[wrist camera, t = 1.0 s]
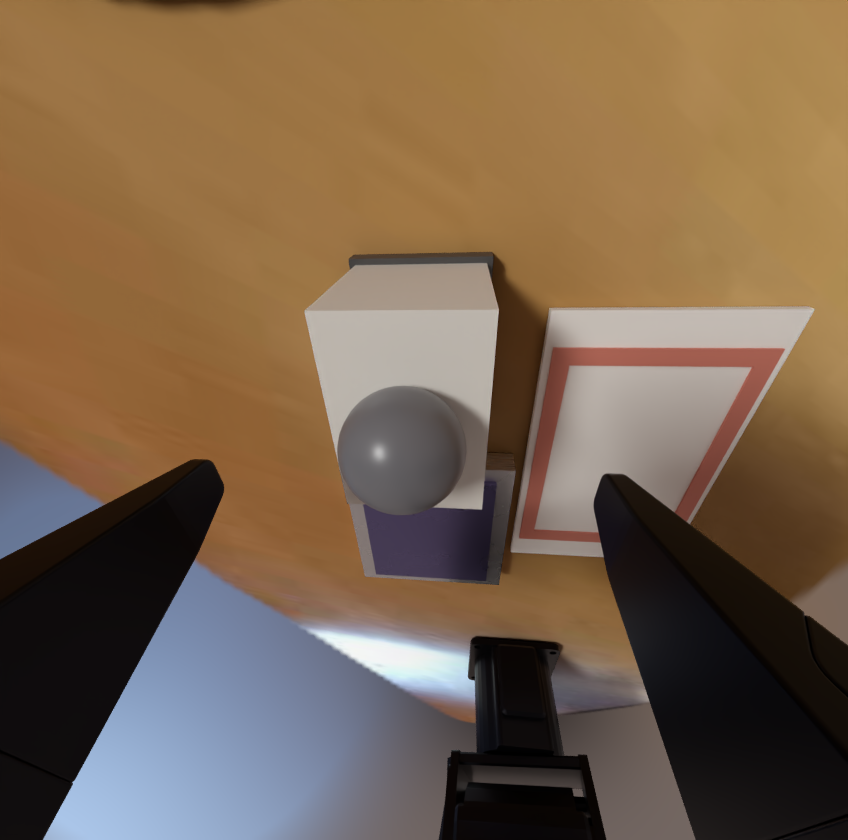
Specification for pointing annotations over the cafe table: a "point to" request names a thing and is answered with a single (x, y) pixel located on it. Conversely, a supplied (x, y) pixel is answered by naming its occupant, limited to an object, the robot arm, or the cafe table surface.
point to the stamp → (409, 377)
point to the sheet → (641, 409)
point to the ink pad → (441, 535)
